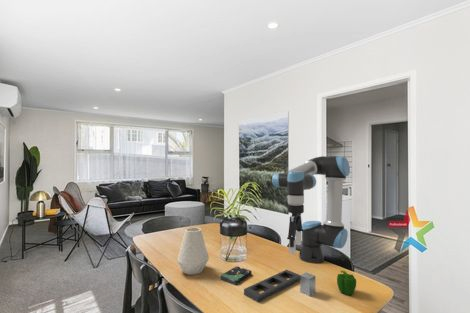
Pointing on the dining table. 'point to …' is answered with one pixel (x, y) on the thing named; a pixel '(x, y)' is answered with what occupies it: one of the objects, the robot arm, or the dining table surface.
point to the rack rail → (269, 288)
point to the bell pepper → (346, 283)
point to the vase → (192, 252)
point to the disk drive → (236, 275)
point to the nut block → (307, 284)
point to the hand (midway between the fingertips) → (295, 249)
